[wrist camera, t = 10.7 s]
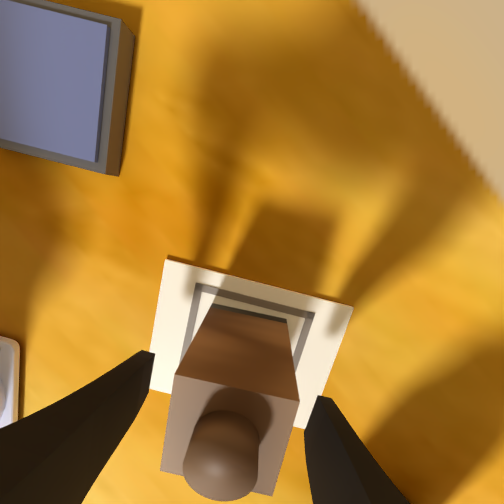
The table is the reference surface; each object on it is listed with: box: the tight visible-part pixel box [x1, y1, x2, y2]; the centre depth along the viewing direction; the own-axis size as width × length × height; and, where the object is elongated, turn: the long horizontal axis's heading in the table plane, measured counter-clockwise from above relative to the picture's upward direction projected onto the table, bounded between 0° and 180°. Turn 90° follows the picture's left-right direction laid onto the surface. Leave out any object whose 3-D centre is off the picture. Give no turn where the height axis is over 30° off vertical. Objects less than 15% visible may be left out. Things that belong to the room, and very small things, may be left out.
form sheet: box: [149, 259, 354, 429], centre depth 13 cm, size 10×8×1 cm
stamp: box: [160, 303, 300, 501], centre depth 10 cm, size 4×4×6 cm
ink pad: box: [0, 0, 135, 176], centre depth 10 cm, size 6×6×1 cm
